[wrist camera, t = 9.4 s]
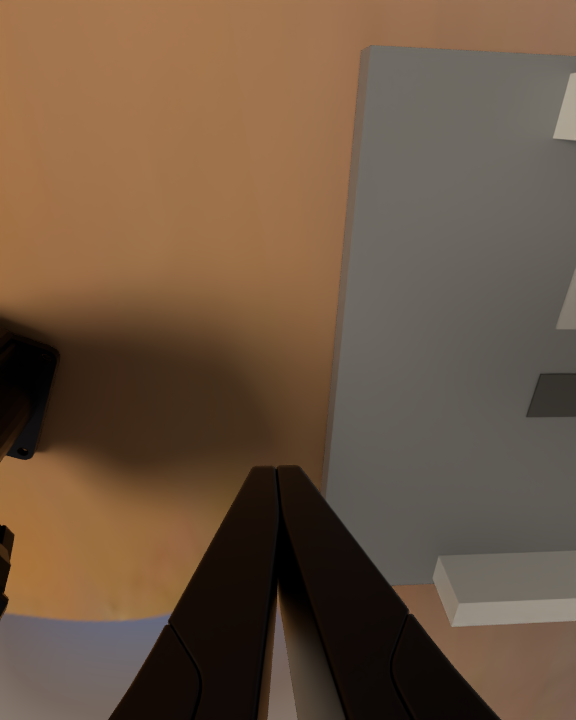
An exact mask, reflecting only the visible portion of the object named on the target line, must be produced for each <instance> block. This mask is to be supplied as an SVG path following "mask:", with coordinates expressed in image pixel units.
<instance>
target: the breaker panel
mask: <svg viewBox="0 0 576 720" xmlns="http://www.w3.org/2000/svg"><path fill="white" fill-rule="evenodd" d="M321 495H322V496H323V497H324V499H325V500H326V501H327V503H328V504H329V505H330V507H331V508H332V509H333V511H334V512H335V513H336V514H337V516H338V517H339V518H340V520H341V521H342V522H343V524H344V525H345V526H346V528H347V529H348V530H349V532H350V533H351V534H352V535H353V537H354V538H355V539H356V541H357V542H358V543H359V545H360V546H361V547H362V549H363V550H364V551H365V553H366V554H367V555H368V556H369V558H370V559H371V560H372V562H373V563H374V564H375V566H376V567H377V568H378V570H379V571H380V572H381V574H382V575H383V576H384V578H385V579H386V580H387V581H388V583H389V584H390V585H415V584H435V586H436V589H437V591H438V594H439V596H440V599H441V602H442V604H443V607H444V609H445V612H446V614H447V617H448V620H449V622H450V625H451V627H459V626H479V625H500V624H520V623H540V622H561V621H576V56H563V55H544V54H525V53H506V52H488V51H469V50H450V49H431V48H412V47H394V46H375V45H370V46H369V47H367V48H365V49H363V50H361V58H360V69H359V79H358V90H357V101H356V112H355V123H354V134H353V145H352V156H351V167H350V177H349V188H348V199H347V210H346V221H345V232H344V243H343V254H342V265H341V276H340V286H339V297H338V308H337V319H336V330H335V341H334V352H333V363H332V374H331V384H330V395H329V406H328V417H327V428H326V439H325V450H324V461H323V472H322V483H321Z"/></svg>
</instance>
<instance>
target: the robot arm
mask: <svg viewBox="0 0 576 720" xmlns="http://www.w3.org/2000/svg"><path fill="white" fill-rule="evenodd" d="M42 354H46V355H48V356H49V357H50V358H51V360H47V359H45V358H44V357H43V355H42ZM59 361H60V354H59V352H58V351H57V350H56V349H55V348H54V347H52V346H50V345H47V344H43V343H40V342H37V341H34V340H31V339H28V338H25V337H22V336H19V335H16V334H13V333H10V332H9V331H8V330H6V329H3V328H0V462H1V461H2V459H3V458H4V456H5V455H7V456H10V457H14V458H18V459H23V460H27V459H30V458H32V457H33V455H34V453H35V452H36V450H37V447H38V443H39V439H40V435H41V431H42V427H43V423H44V419H45V416H46V412H47V408H48V404H49V400H50V396H51V392H52V388H53V384H54V380H55V376H56V372H57V368H58V364H59ZM22 448H25V449H27V450H28V451H26V450H23V449H22ZM13 541H14V534H13V533H12V532H11V531H10V530H9V529H8V527H7V526H5V525H3V526H1V525H0V620H1V618H2V616H3V614H4V613H5V611H6V608H7V604H8V600H9V599H8V597H7V596H6V595H5V594H4V591H5V586H6V582H7V578H8V575H9V571H10V567H11V564H10V558H11V552H12V547H13ZM277 589H278V594H279V602H280V609H281V616H282V622H283V628H284V635H285V641H286V648H287V654H288V660H289V667H290V673H291V680H292V686H293V692H294V699H295V705H296V712H297V718H298V720H501V719H500V718H499V717H498V716H497V715H496V713H495V712H494V711H493V710H492V709H491V708H490V707H489V706H488V705H487V704H486V703H485V701H484V700H483V699H482V698H481V697H480V696H479V695H478V694H477V692H476V691H475V690H474V689H473V688H472V687H471V686H470V685H469V683H468V682H467V681H466V680H465V679H464V678H463V677H462V676H461V674H460V673H459V672H458V671H457V670H456V669H455V668H454V666H453V665H452V664H451V663H450V661H449V660H448V659H447V658H446V656H445V655H444V654H443V653H442V651H441V650H440V649H439V648H438V646H437V645H436V644H435V643H434V641H433V640H432V639H431V638H430V636H429V635H428V634H427V633H426V631H425V630H424V629H423V627H422V626H421V625H420V623H419V622H418V621H417V619H416V618H415V617H414V615H413V614H409V609H408V608H407V606H406V605H405V604H404V602H403V601H402V600H401V599H400V597H399V596H398V595H397V593H396V592H395V591H394V589H393V588H392V587H391V585H390V584H389V583H388V581H387V580H386V579H385V578H384V576H383V575H382V574H381V572H380V571H379V570H378V568H377V567H376V566H375V564H374V563H373V562H372V560H371V559H370V558H369V556H368V555H367V554H366V553H365V551H364V550H363V549H362V547H361V546H360V545H359V543H358V542H357V541H356V539H355V538H354V537H353V535H352V534H351V533H350V532H349V530H348V529H347V528H346V526H345V525H344V524H343V522H342V521H341V520H340V518H339V517H338V516H337V514H336V513H335V512H334V511H333V509H332V508H331V507H330V505H329V504H328V503H327V501H326V500H325V499H324V497H323V496H322V495H321V493H320V492H319V491H318V489H317V488H316V487H315V486H314V484H313V483H312V482H311V480H310V479H309V478H308V476H307V475H306V474H305V472H304V471H303V470H302V468H301V467H300V466H298V465H280V466H278V467H277V469H276V468H275V467H274V466H254V467H253V468H252V469H251V471H250V472H249V474H248V476H247V478H246V480H245V481H244V483H243V485H242V487H241V489H240V491H239V492H238V494H237V496H236V498H235V500H234V502H233V503H232V505H231V507H230V509H229V511H228V512H227V514H226V516H225V518H224V520H223V522H222V523H221V525H220V527H219V529H218V531H217V532H216V534H215V536H214V538H213V540H212V542H211V543H210V545H209V547H208V549H207V551H206V552H205V554H204V556H203V558H202V560H201V562H200V563H199V565H198V567H197V569H196V571H195V572H194V574H193V576H192V578H191V580H190V582H189V583H188V585H187V587H186V589H185V591H184V592H183V594H182V596H181V598H180V600H179V602H178V603H177V605H176V607H175V609H174V611H173V612H172V614H171V616H170V618H169V620H168V625H165V627H164V628H163V630H162V632H161V634H160V636H159V637H158V639H157V641H156V643H155V645H154V647H153V648H152V650H151V652H150V654H149V655H148V657H147V659H146V660H145V662H144V664H143V665H142V667H141V669H140V671H139V672H138V674H137V676H136V677H135V679H134V681H133V682H132V684H131V686H130V687H129V689H128V690H127V692H126V694H125V695H124V697H123V698H122V699H121V701H120V703H119V704H118V706H117V707H116V708H115V710H114V712H113V713H112V715H111V716H110V718H109V719H108V720H267V717H268V705H269V693H270V680H271V668H272V656H273V645H274V633H275V621H276V609H277ZM408 614H409V615H408Z"/></svg>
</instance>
